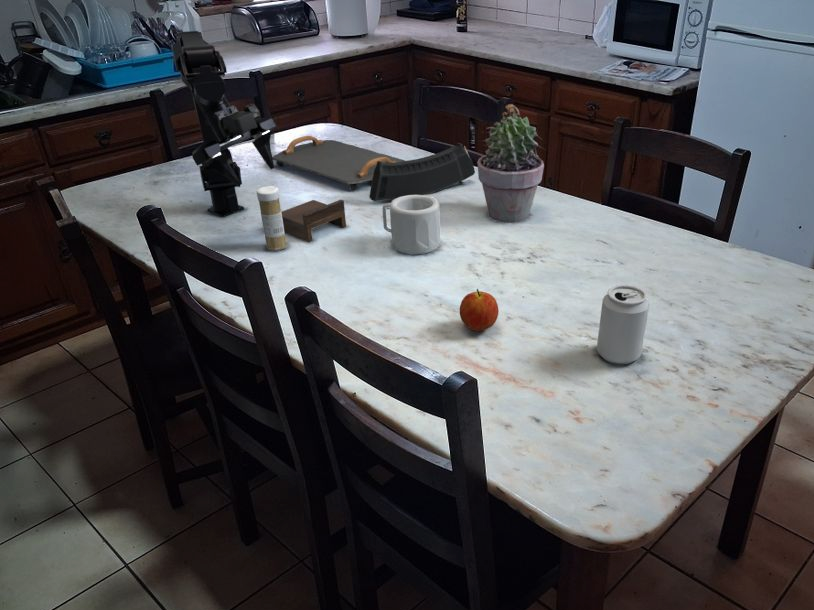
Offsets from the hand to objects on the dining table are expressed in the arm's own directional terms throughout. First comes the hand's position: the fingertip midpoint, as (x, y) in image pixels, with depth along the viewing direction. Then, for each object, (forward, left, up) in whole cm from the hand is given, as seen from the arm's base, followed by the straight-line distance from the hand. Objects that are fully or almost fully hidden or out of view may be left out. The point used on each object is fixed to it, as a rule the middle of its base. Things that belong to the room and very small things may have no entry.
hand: (256, 176), depth 152 cm
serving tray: (-22, +43, -15) cm, 51 cm away
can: (+86, +7, -15) cm, 87 cm away
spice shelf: (+4, +10, -14) cm, 18 cm away
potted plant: (+36, +45, -15) cm, 59 cm away
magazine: (+9, +44, -15) cm, 48 cm away
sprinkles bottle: (+6, -2, -15) cm, 16 cm away
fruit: (+62, -1, -15) cm, 63 cm away
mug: (+28, +18, -15) cm, 36 cm away
